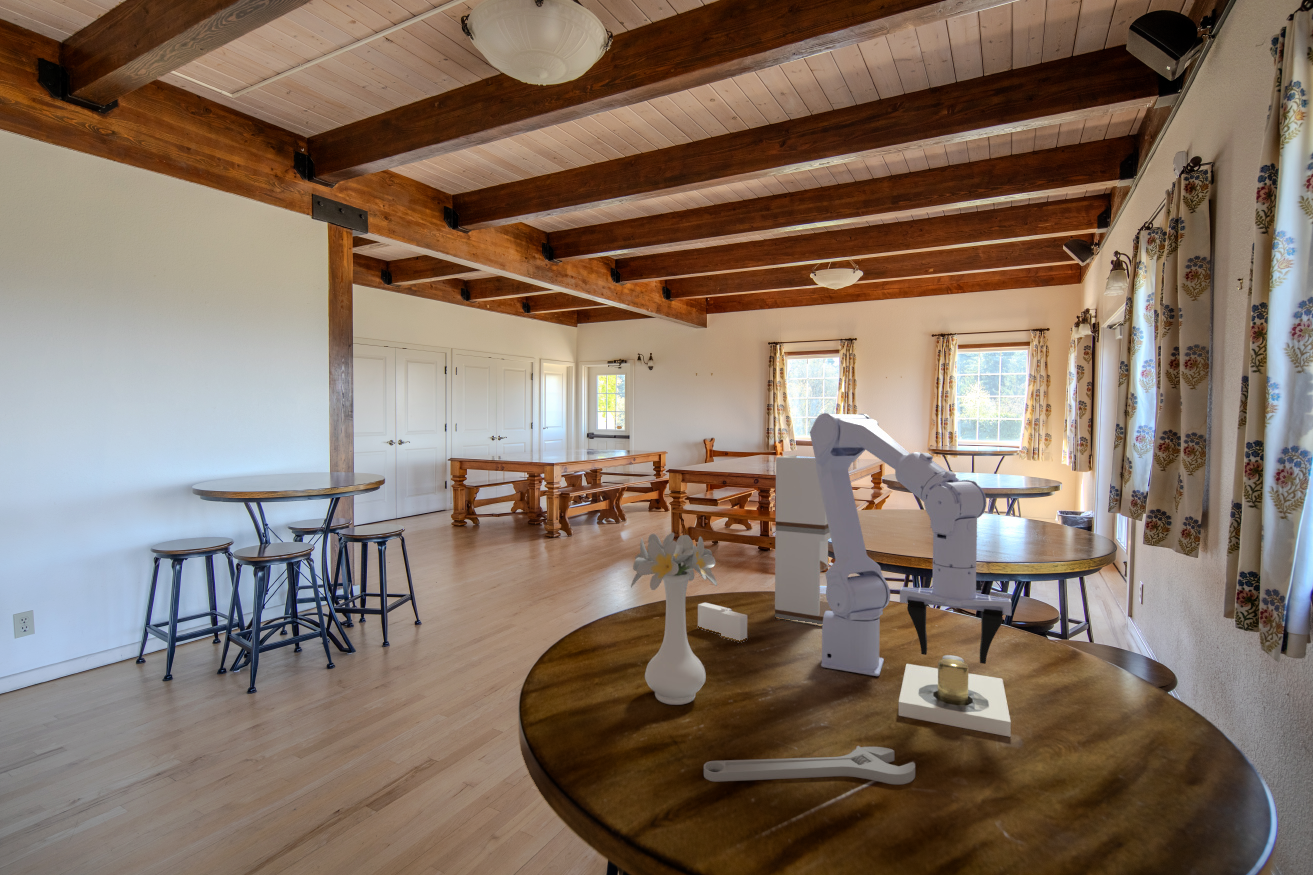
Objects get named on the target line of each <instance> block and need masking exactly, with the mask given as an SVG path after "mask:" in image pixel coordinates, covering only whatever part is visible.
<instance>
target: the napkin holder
mask: <svg viewBox="0 0 1313 875" xmlns="http://www.w3.org/2000/svg"><path fill="white" fill-rule="evenodd" d="M698 626H699V627H702V628H705V629H709V630H712V631H715V632H719V633H721V636H725V637H729V638H733V639H736V640H739V641H740V640H743V639H745V638H747V639H748V614H745V613H740V612H737V611H733V609H732V608H729V607H724V606H721V605H717V604H714V603H709V602H702V603H698V604H697V627H698ZM721 636H720V637H721Z"/></svg>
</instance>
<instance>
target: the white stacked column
mask: <svg viewBox="0 0 1313 875" xmlns="http://www.w3.org/2000/svg"><path fill="white" fill-rule="evenodd" d="M774 535H775V539H774V540H775V542H774V543H775V546H774V548H775V549H774V550H775V551H774V552H775V554H774V555H775V557H774V559H775V562H774V565H775V566H774V567H775V568H774V569H775V571H774V572H775V573H774V574H775V575H774V576H775V577H774V584H775V585H774V618H775V617H779V618H784V619H790V620H798V621H805V622H812V623H817V624H823V617H824V614H825V611H832V609H831V608H830V606H829V604H828V602H827V601H822V600H821V572H823V571H825V570H826V571H827V570H828V569H829V564H828V563H829V540H831V536H830V531H829V526H828V522H827V517H826V512H825V507H824V503H823V498H822V493H821V488H820V484H819V479H818V474H817V469H816V460H815V457H797V454H796V455H784V456H776V457H775V534H774Z"/></svg>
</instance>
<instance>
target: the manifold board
mask: <svg viewBox="0 0 1313 875" xmlns="http://www.w3.org/2000/svg"><path fill="white" fill-rule="evenodd" d="M942 659H953V660H958V661H962V662H964V663H965V661H964V659H963V658H962V657H960V656H957V655H950V654H946V655H943V656H942ZM904 669H905V670H904V674H903V678H902V683H901V684H902V685H901V689H900V694H899V698H898V716H900V717H904V718H910V719H914V720H919V721H925V722H930V723H937V724H942V725H947V726H952V727H957V728H961V729H962V728H963V729H967V730H972V731H978V732H982V733H989V734H993V735H994V734H995V735H999V736H1005V737H1009V738H1011V732H1012V731H1011V727H1012V726H1011V725H1012V724H1011V722H1012V721H1011V716H1010V712H1009V707H1008V702H1007V697H1006V696H1007V694H1006V690H1005V686H1004V680H1003V678H1000V677H994V676H987V675H981V674H975V673H969V672H968V705H960V706H958V705H952V704H947V703H944V702H942V701H939V700H938V667H931V666H926V665H925V666H924V665H918V664H911V663H906V665H905V668H904Z"/></svg>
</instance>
